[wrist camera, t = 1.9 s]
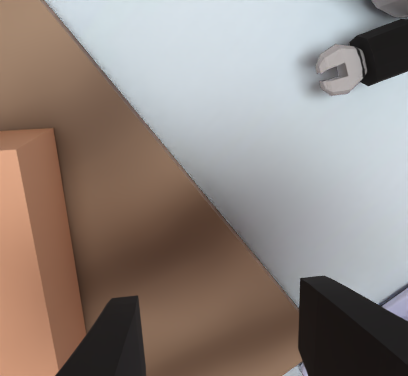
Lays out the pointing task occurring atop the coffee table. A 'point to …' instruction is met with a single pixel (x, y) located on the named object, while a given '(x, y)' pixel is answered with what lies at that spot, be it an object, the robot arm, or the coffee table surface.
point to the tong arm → (35, 259)
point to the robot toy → (369, 53)
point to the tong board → (141, 214)
